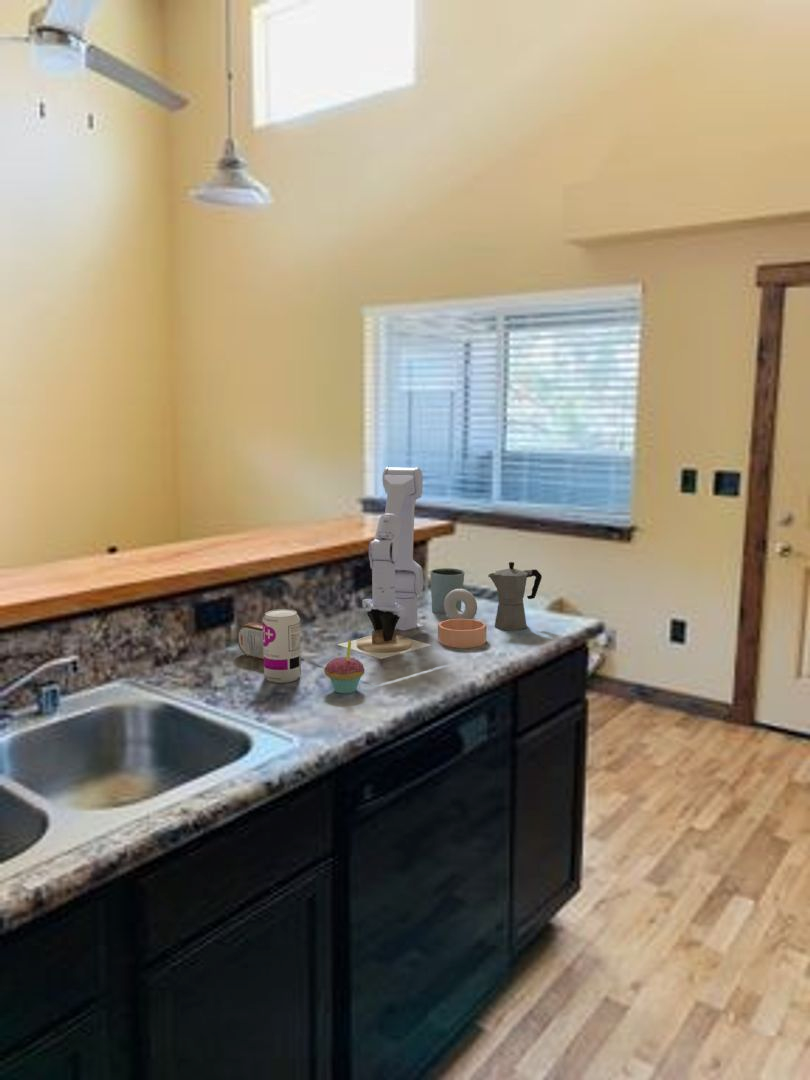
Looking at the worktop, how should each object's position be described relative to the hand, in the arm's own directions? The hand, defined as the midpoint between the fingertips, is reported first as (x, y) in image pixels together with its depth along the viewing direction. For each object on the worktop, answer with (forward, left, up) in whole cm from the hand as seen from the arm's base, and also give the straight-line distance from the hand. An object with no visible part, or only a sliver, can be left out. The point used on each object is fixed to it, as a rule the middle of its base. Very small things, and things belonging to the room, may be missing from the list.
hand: (384, 639), depth 217 cm
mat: (0, 0, -2) cm, 2 cm away
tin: (-13, -28, -2) cm, 31 cm away
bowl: (+11, +17, -2) cm, 20 cm away
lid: (0, 0, -1) cm, 1 cm away
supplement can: (+3, -33, -2) cm, 33 cm away
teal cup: (-16, +39, -2) cm, 42 cm away
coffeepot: (+9, +40, -2) cm, 41 cm away
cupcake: (+19, -28, -2) cm, 34 cm away
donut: (-3, +31, -2) cm, 31 cm away
